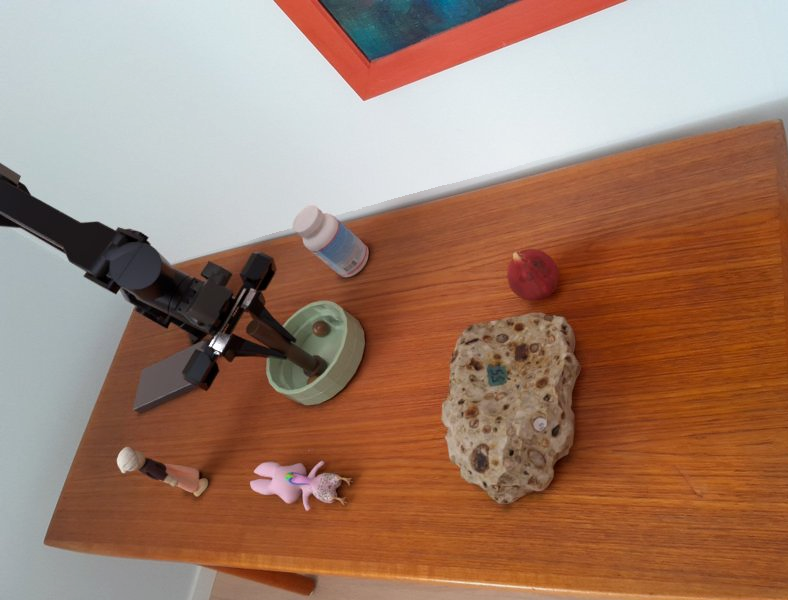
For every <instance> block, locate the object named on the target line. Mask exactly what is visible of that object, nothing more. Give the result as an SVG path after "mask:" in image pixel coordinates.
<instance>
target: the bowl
mask: <svg viewBox="0 0 788 600" xmlns="http://www.w3.org/2000/svg"><path fill="white" fill-rule="evenodd" d="M320 320H321V321H325V322H326V323H327V324H328V326H329V332H328V334H327V335H326V336H324V337H317V336H316V335H314V333H313V331H312V326H313V324H314V323H315V322H317V321H320ZM282 326H283V327H284V328H285V329H286V330H287V331H288V332H289V333H290V334H291V335H292V336H293V337H295V338H296V340H297V342H296V343H294V342H292V343H294V344H295V345H297V346H298V347H300V348H301V349H303V350H304V351H306V352H307V353H309V354H310V355H312V356H313V355H318V356H320V357H322V358H323V359H324V360H325V361H326V363H327V367H326V370H325V372H324V373H323V374H322V375H321V376H319V377H318V378H317V379H316V380H315V381H314V382H312V383H310V384H308V385H307V381H308V379H309V377H308V376H306V375H305V374H304V372H303V369H302V368H300V367H299V366H297V365H296V364H294V363H292V362H291V361H289V360H288V359H287V360H281V359H272V358H266V367H265V368H266V369H265V370H266V371H265V373H266V377H267V380H268V384H269V385H270V386H271V387H272V388H273V389H274V390H275V391H276V392H277V393H279V394H281V395H283V396H284V397H286V398H288V399H289V400H292V401H293V402H294V403H298V404H301V405H302V406H303V405H304V406H313V405H320V404H322V403H324V402H326V401H328V400H330V399H332V398H333V397H334V396H336V395H337V394H338V393H340V392H341V391H342V390H343V389H344V388H345V387H346V386H347V385H348V383H349V382H350V381H351V379H352V378H353V377H354V376H355V374H356V373H357V370H358V367H359V366H360V364H361V361H362V359H363V354H364V350H365V346H366V341H365V331H364V329H363V326H362V325H361V323H360V321H359V320H358V319H357V318H355V317H354V316H353V315H352V314H350V313H349V312H348V311H347V310H346V309H344V308H343V307H341V305H339V304H337V303H336V302H335V301H329V300H323V299H322V300H318V301H314V302H311V303H309V304H307V305H305V306H304V307H302V308H299V309H298V310H296V311H295V313H293V314H292V315H290V317H288V319H287V320H286V321H285V323H283V325H282Z"/></svg>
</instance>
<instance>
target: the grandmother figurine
mask: <svg viewBox="0 0 788 600" xmlns="http://www.w3.org/2000/svg"><path fill="white" fill-rule="evenodd" d="M116 463H117V467H118V469H119V470H120V472H121V473H122V474H127V473H128V472H133V471H139V472H140V473H142V474H143V475H145V476H147V477H148V478H150V479H152V480H155V481H160V482H163V483H166V484H167V485H170V486H171V487H174V488H175V487H177V488H178V487H179V488H180V489H183V490H184V491H186V492H188V493H193V494H192V495H194V496H195V497H197V498H198V497H200V496H201V495H202V494H203V493H204V492H205V491H206V490H207V488H208V486H209V480H208V479H207V478H206V477H205V478H204V477H202V478H200V471H199V470H198V469H197V468H195V467H194V468H193V467H190V466H186V465H182V464H173V463H165V462H161V461H157V460H154V459H152V458H149V457H146V456H145V454H144V453H143V452H141V451H140V450H133V447H130V446H125V447H124V448H122V449H121V451H120V452H119V453H118V455H117V458H116Z"/></svg>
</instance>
